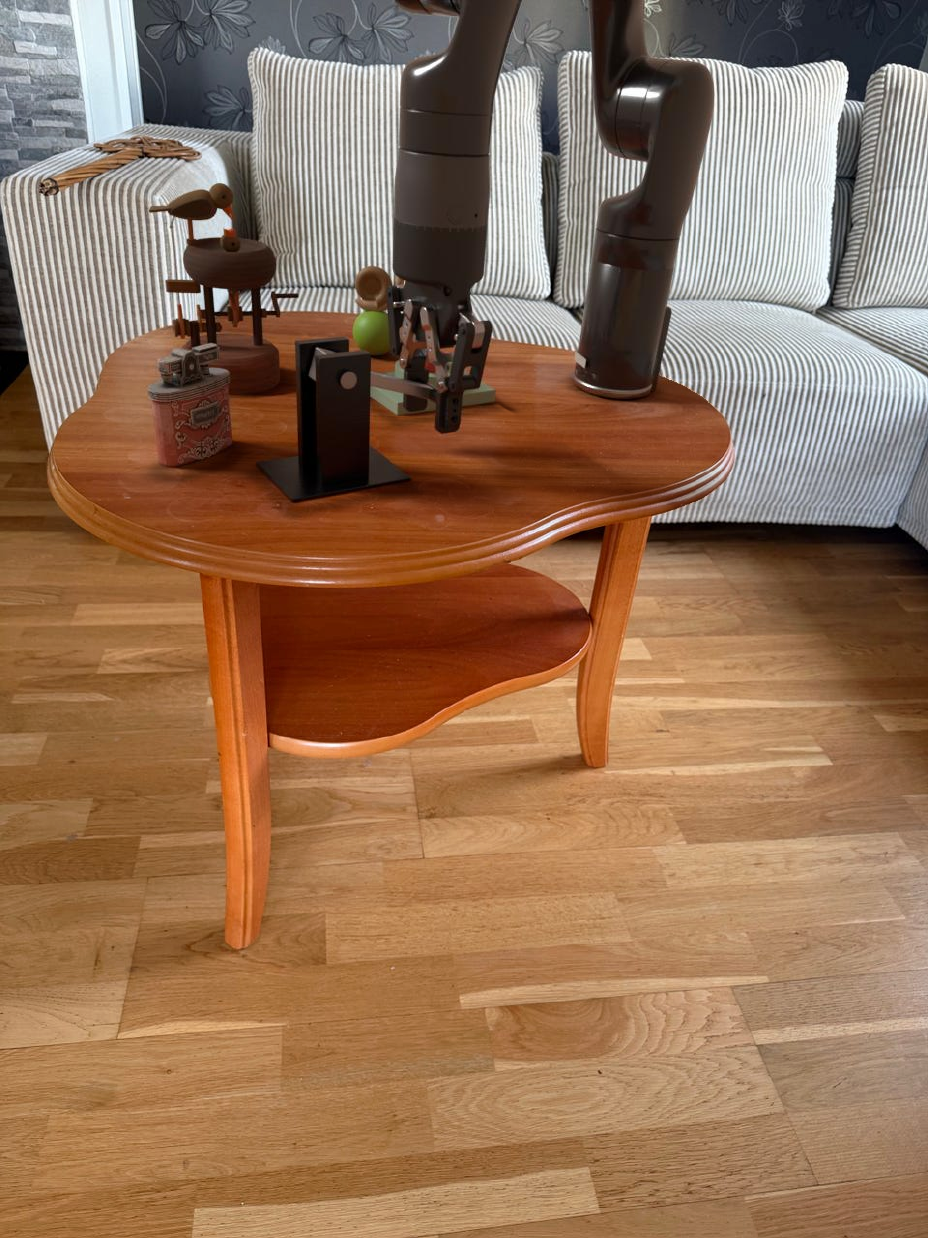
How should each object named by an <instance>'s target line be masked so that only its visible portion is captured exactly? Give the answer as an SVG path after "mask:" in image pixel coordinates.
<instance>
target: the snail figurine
mask: <svg viewBox="0 0 928 1238" xmlns="http://www.w3.org/2000/svg"><path fill="white" fill-rule="evenodd" d="M405 282H406V281H405V280H402V279H400V278H399V277H397V276H396V275H395V279H394V283H393V281H392V278H391V276H390V275H389V273H388V272H387V271H386V270H385V269H383V268H381V267H379V266H377V265H369V266H365V267H363V268H361V269H360V270H359V271H358V273H357V274H356V276H355V279H354V289H355V292H356V293H357V295H358V296H359V298H355V299H354V303H355V304H356V305H357V306H358V307H359V308H360V309H362V310H363V312H361V313H360V314H358V316H357V317H356V319H355V320H354V322H353V326H352V338H353V340H354V344H355V345H356V347H357V348H358V349H359V351H363V350H366V351H368V352H369V353H371V356H375V357H376V356H382V355H384V354H386V353H388V352H389V351H390V339H389V327H388V314H387V301H386V288H387V286H395V285H405Z"/></svg>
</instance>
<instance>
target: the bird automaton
mask: <svg viewBox="0 0 928 1238" xmlns="http://www.w3.org/2000/svg"><path fill="white" fill-rule="evenodd" d="M233 201H234V193H233V191H232V189H231V188H230V186H228V185H227V184H225V183H224V182H223V183H222V182H218V183H214V184H212V186H211V187H210V188H209V190H207V189H202V188H200V189H194V190H191V191H188V192H185V193H183V194H181V195H179V196H177V197H176V198H174V199H172V200H171V201H170V202H169V203H168V204H167V205H151V206H150V207H149V208H148V213H151V214H152V213H161V212H167V213H168V214H169V216H172V220H171V224H170V225H169V229H170V231H171V241H172V250H173V260H174V272H175V279H173V278H171V279H165V281H164V283H165V291H166V293H170V294H177V302H178V304H177V308H176V309H177V318H174V319H172V330H173V336H174V337H175V338H178V337H180V339H182V340H183V339H185V338H186V337H188V338H189V337H190V339H188V341H186V342H185V344H183V346H182V347H181V349H184V350H187V351H190V350H192V348H194V347H198V346H201V345H205V344H209V343H213V344H216V345H217V347H219V350H220V360H217V361H214V362H210V363H207V364H208V365H209V368H222V369H225V370H228V371H229V372H230V382H229V383H228V389H229V395H248V394H254V393H255V394H256V393H260V392H265V391H267V390H268V391H269V390H271V389H273V388H275V387H276V386H277V385H278V384H279V383H280V381H281V369H280V368H281V367H280V366H281V365H280V362H281V361H280V350H279V348H278V347H277V346H275V344H273V343H272V341H269V340H268V339H265V338H264V335H263V321H262V320H263V319H267V317H268V316H275V317H276V318H281V309H280V305H279V301H278V299H298V298H299V297H300V295H299V293H295V292H294V293H290V292H289V293H286V292H285V293H276V291H274V290H271V291H270V299H271V303H272V306H273V310H267V308H266V307H265V308H264V307H262V296H261V295H262V294H261V288H262V287H264V286H266V285H268V284H269V283H270V282H271V281H272V280H273V278H274V277H275V274H276V271H277V259H276V256H275V253H274V252H273V250H272V248H271V247H270V246H269V245H268V244H267V243H265V242H262V241H258V240H255V239H251V238H250V239H249V238H244V237H243V238H242V237H238V236H237V232H236V229H235V228H233V227H231V228H229V229H227V228H224V227H223V232H222V233H223V234H222V235H221V236H215V237H214V236H212V237H203V238H202V237H201V238H195V236H194V235H195V234H194V233H195V232H194V225H193V224H194V223H193V221H209V220H211V219H212V218H214V217H215V215H217V212H218V209H219V210H222V211H223V212H224V213H225V214H226V216H228V218H229V219H230V220H231V221H232V222H233V223H235V221H236V220H235V217H234V216H235V215H234V212H233V208H232V204H233ZM175 218H177V219H181V220H186V221H187V230H188V231H187V232H188V238H186V239H185V240H186V247H185V248H184V251H183V254H182V255H183V256H182V263H183V267H184V270H185V272H186V274H187V275H188V277H189V278H190V279H178V270H177V262H176V252H175V251H176V249H175V242H174V241H175V240H174V230H173V229H174V220H175ZM201 286H202V287H201ZM214 289H219V290H226V292H227V294H228V305H227V306H226V311H225V310H224V311H223V310H222V311H216V310H215V297H214ZM202 290H203V291H202ZM240 290H250V298H251V310H243V307H242V305H240ZM202 292H203V304H204V309H203V308H201V305H200V304H196V317H197V320H190V319H188V318H187V319H186V318H184V314H183V307H182V304H181V303H180V294H201V293H202ZM216 317H226V319H227V321H228V322H231V326H232V328H238V324H239V323H240V322H243V321H244V317H251V318H252V335H251V334H245V333H244V334H243V333H230V332H229V333H225V332H224V333H221V332H222V330H223V325H222V324H221V322H216ZM203 320H205V322H203ZM204 333H206V334H204ZM201 334H204V335H201Z"/></svg>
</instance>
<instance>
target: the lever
mask: <svg viewBox="0 0 928 1238" xmlns="http://www.w3.org/2000/svg"><path fill="white" fill-rule="evenodd" d="M333 353H337V352H333V351H329V350H325V349H321V348H316V350H315V354H314V357H313V361H312V365H311V368H310V372H309V377H311V378H312V379H313V380H315V381H316V364H315V355H323V354H333ZM380 373H381V372H377V371H373V370H371V386H374V387H378V388H382V389H387V390H391V391H395V392H400V393H404V394H408V395H412V396H417V397H421V398H425V399H429V400H430V401H432V402H434V403H435V404H436V391H437V390H438V389H437V388H436V387H434V386H433V385H431V384H429V383H428V382H426V381H425V380H423V379H421V378H417V379H415V380H414V381H409V380H405V379H401V378H397V377H392V376H388V375H384V374H380Z"/></svg>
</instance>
